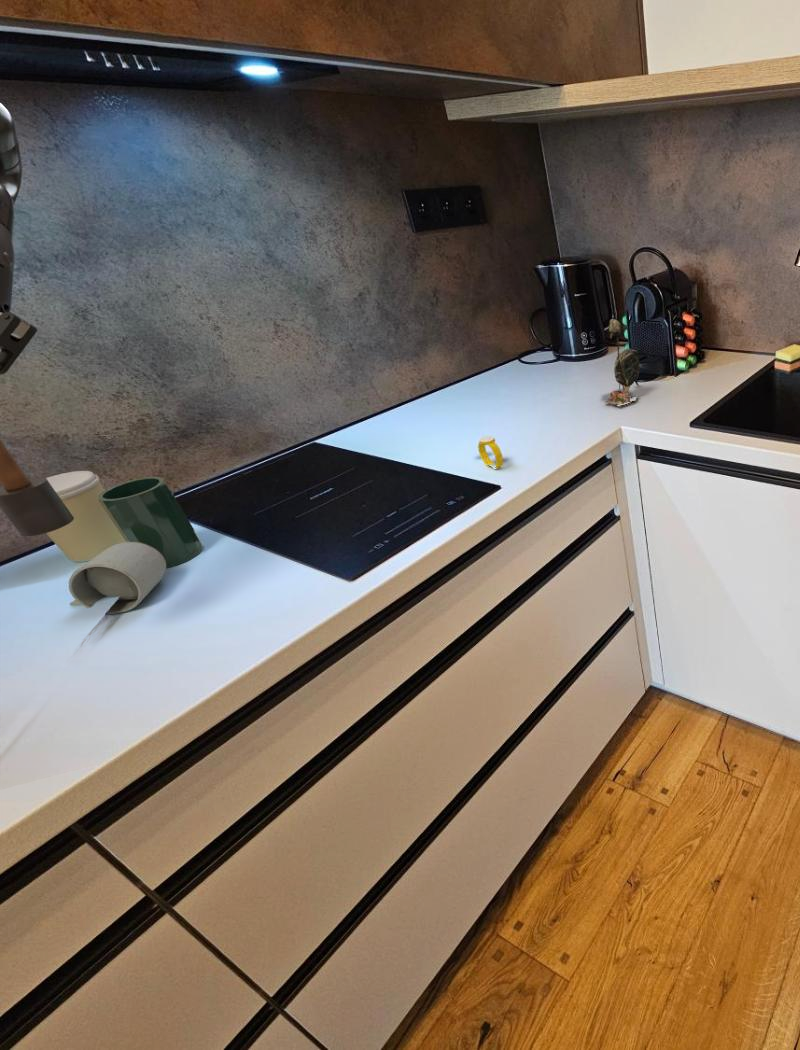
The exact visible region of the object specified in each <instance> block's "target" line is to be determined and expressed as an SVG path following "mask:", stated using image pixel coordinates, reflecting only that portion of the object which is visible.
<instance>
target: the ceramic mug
mask: <svg viewBox="0 0 800 1050" xmlns="http://www.w3.org/2000/svg"><path fill="white" fill-rule="evenodd" d="M166 571H167V568H166V561H165V559H164V557H163V556H162V554H161V553H160V552H159V551H158V550H156V549H155V548H153V547H151V546H149V545H146V544H144V543H140V542H124V543H120V544H116V545H114V546H112V547H109V548H108V549H106V550H105V551H103V552H101V553H100V554H99V555H98V556H96V557H95V558H93V559H92V560H90V561H87V562H85V563H84V564H83V565H81V566H80V567H78V568H77V569H76V570H75V571H73V573H72V574H71V575H70V577H69V579H68V591H69V593H70V595H71V596H72V598H73V599H74V600H73V601H71V602H70V603H69V605H70V606H73V607H85V608H86V609H91V608H92V607H93V606H94V605H95V604H96V603H97V602H98V601H99V600H100V599H101V598H102V597H103V596H105V597H107V598H118V599H116V601H115V602H113V604H112V605H111V607H110V608H109V609H108V610H107V611H106V612H105V614H112V615H113V614H114V615H115V614H122V613H126V612H129V611H131V610H133V609H134V608H137V606H138V605H139V604H140V603H141V602H142V601H143V600H144V599H145V598H146V597H147V596H148V595H149V594H150V593H151V591H152V590H154V588H155V587H156V586H157V585H158V584H159V583H160V582H161V580H162V579H163V577H164V576H165V574H166Z"/></svg>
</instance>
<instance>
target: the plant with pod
mask: <svg viewBox="0 0 800 1050" xmlns="http://www.w3.org/2000/svg"><path fill="white" fill-rule="evenodd" d="M621 332H622V331H621V323H620V321H619V320H618V319H615V318H611V319H609V323H608V333H610V334H609V339H612V338H613V336H614V337H615V339H616V348H617V349H616V350H617V356H616V358H615V361H614V369H613V373H614V379H615V381H616V383H618V389H619V390H613V391H611V392H610V396H609V397H607V398H606V399H604V402H605V401H606V402H605V403H604V404H609V405H612V406H616V405H620V404H624V403H627V402H631V401H630V397H629V396H630V393H629V390H630V388H631V386H632V385H633V384H634V383H635V384H636V386H637V387H639V386H640V385H639V383H638V379H639V375H640V373H641V372H640V368H641V366H640V360H639V359H640V358H639V352H638V351H637V350H635V348H634V349H633V348H625V350H623V351H622V352H620V344H619V336H620V334H621ZM621 386H622V390H621Z"/></svg>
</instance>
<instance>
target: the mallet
mask: <svg viewBox="0 0 800 1050" xmlns="http://www.w3.org/2000/svg"><path fill="white" fill-rule="evenodd" d="M46 478H47V477H44V476H43V477H42V476H38V477H37V476H36V477H30V478H29V477H28V476H27V474H26V473H25V472H24V470H23V469H22V468H21V466H20V465H19V464H18V462H17V460H15V458H14V457H13V455H12V454H11V452H10V451H9V449H8V448H7V447H6V445H5V444H4V443H3V441H2V440H1V439H0V485H1V486H0V511H2V513H3V515H5V516H6V518H7V519H8V521H9V522H10V523H11V525H12V526H13V527H14V528H15V530H16V531H17V532H18V533H19V535H20V536H22V537H35V536H40V535H44V534H46V533H48V532H51V531H54V530H57V529H59V528H62V527H64V526H66V525H68V524H69V523H71V522H72V521H73V520H74V517H73V516H72V514H71V513H70V511H69V510H68V508H67V507H66V506H65V504H64V503H63V501H62V500H61V499H60V497H59V496H58V494H57V493H56V492H55V490H54V489H53V487H52V486H51V484H50V483H49V482H48V480H47V479H46Z"/></svg>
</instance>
